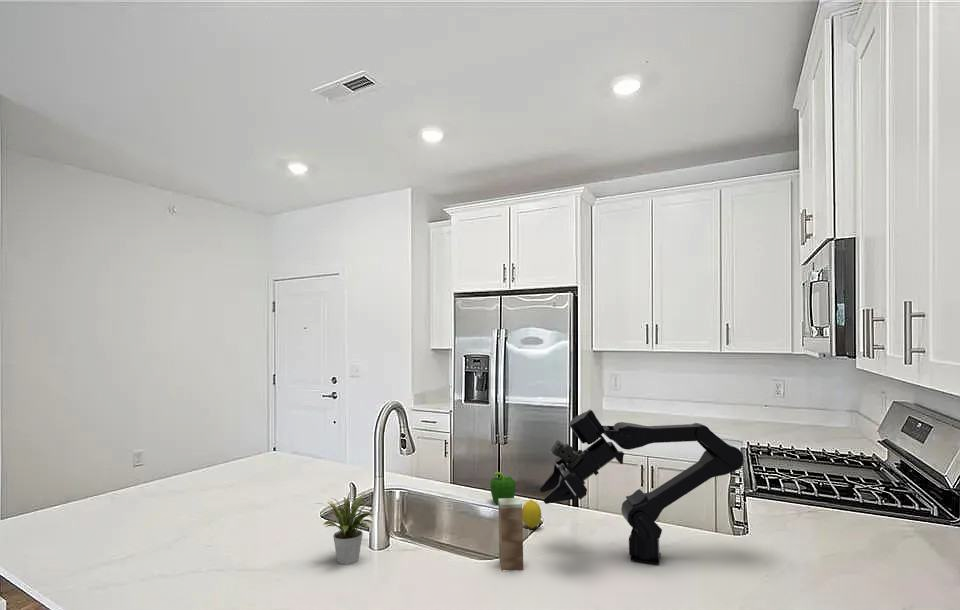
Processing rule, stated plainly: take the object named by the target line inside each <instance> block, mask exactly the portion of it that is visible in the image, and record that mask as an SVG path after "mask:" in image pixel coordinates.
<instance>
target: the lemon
mask: <svg viewBox="0 0 960 610" xmlns="http://www.w3.org/2000/svg"><path fill="white" fill-rule="evenodd" d="M541 519H542V509H541V507H540V504H539V503H538V502H536V501H534V500H533V499H529V501H526V502H525V503H524V504H523V505H522V522H523V523H524V525H526V526H527V527H528V528H530V529H534V528H535V527H537V526H538V525H539V524H540V522H541Z"/></svg>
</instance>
